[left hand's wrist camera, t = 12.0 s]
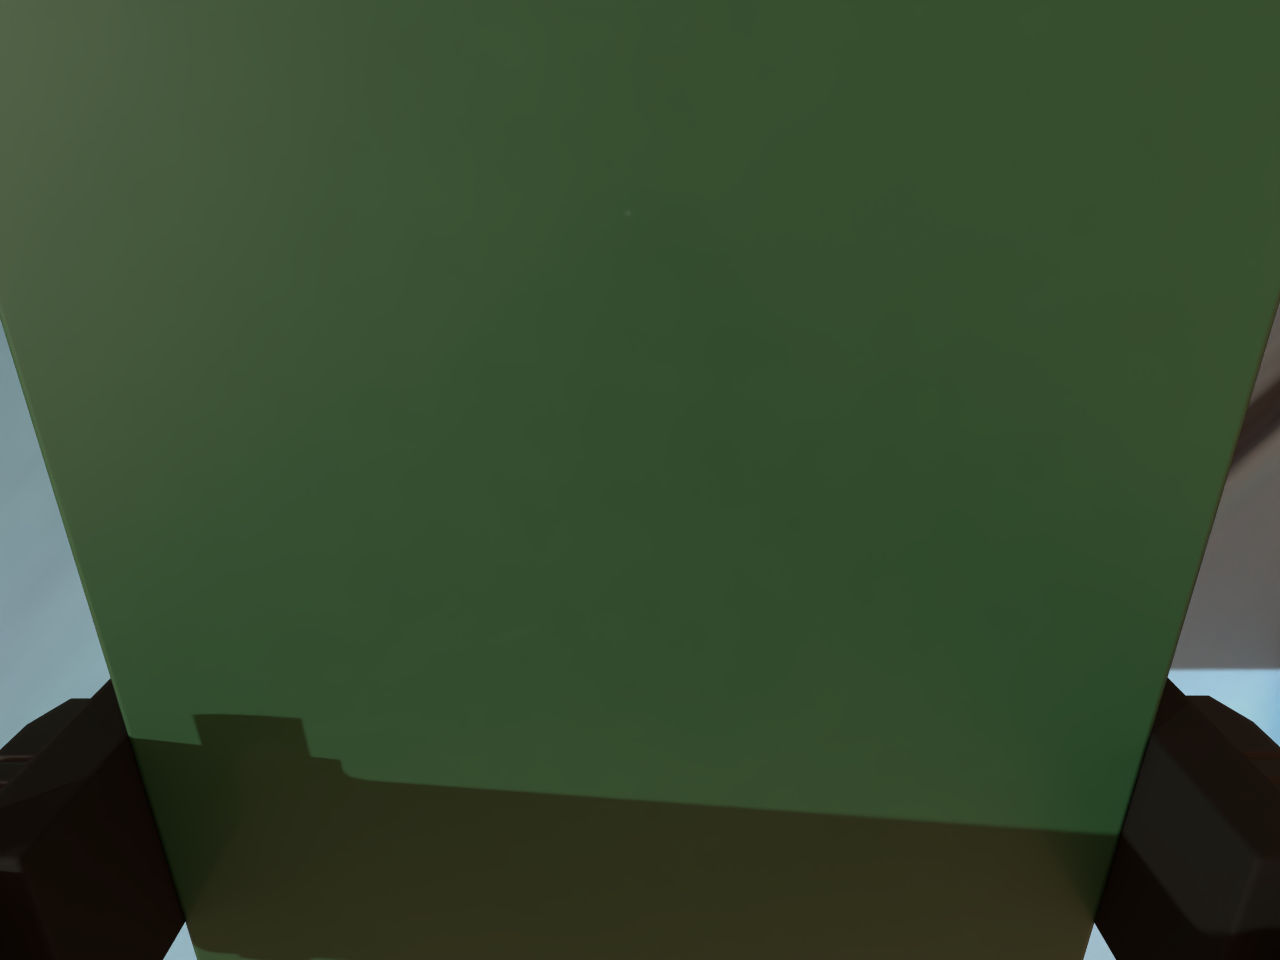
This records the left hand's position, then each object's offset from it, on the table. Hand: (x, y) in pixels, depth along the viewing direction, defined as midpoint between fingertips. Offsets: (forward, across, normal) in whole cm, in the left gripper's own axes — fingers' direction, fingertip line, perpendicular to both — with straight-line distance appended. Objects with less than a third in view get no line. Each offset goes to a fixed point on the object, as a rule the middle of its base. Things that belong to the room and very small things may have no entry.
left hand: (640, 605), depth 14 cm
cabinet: (+6, 0, -7) cm, 9 cm away
